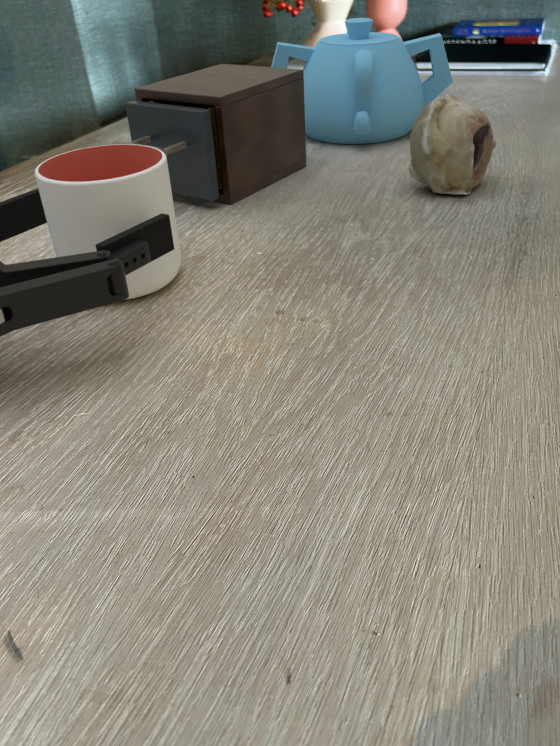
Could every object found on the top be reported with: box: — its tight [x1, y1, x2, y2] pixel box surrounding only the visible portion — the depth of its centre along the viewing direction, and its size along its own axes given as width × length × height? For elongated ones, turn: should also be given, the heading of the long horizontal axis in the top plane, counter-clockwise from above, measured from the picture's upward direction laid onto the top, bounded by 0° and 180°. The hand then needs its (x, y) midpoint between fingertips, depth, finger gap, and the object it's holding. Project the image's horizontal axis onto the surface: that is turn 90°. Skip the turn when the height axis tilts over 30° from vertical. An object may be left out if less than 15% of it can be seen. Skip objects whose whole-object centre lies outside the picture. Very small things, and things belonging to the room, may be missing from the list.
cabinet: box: [134, 63, 307, 205], centre depth 76 cm, size 15×12×11 cm
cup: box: [34, 144, 182, 301], centre depth 54 cm, size 10×10×10 cm
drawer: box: [111, 99, 223, 202], centre depth 72 cm, size 19×11×9 cm, turn 145°
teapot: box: [270, 17, 454, 145], centre depth 90 cm, size 19×19×14 cm
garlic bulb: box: [408, 93, 498, 196], centre depth 70 cm, size 9×8×10 cm
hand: (105, 215), depth 53 cm, fingers open, 13 cm apart
